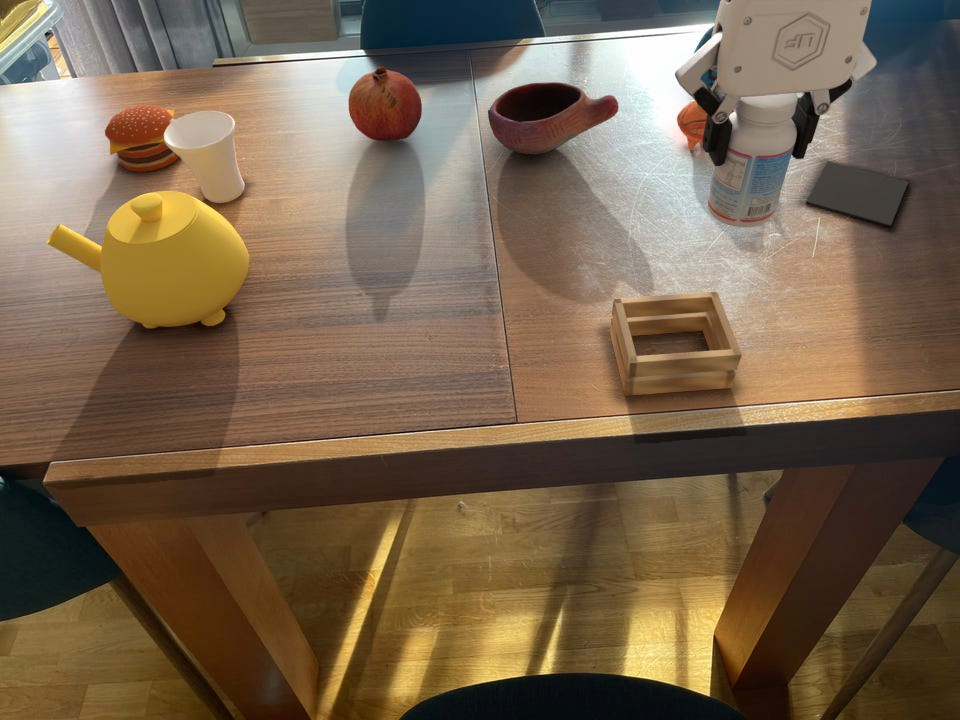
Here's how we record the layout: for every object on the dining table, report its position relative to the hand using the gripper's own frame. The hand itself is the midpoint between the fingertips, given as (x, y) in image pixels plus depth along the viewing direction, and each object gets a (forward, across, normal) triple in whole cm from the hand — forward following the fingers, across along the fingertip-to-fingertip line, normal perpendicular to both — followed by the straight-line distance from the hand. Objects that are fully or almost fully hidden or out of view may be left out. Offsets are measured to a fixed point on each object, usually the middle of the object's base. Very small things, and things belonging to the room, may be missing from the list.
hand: (753, 152), depth 63 cm
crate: (+21, -5, -4) cm, 22 cm away
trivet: (+21, +25, +21) cm, 39 cm away
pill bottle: (+6, 0, 0) cm, 6 cm away
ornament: (+21, +14, +50) cm, 56 cm away
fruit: (+21, -35, +43) cm, 59 cm away
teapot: (+21, -60, +12) cm, 64 cm away
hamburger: (+21, -69, +43) cm, 84 cm away
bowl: (+21, -12, +38) cm, 45 cm away
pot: (+21, +9, +35) cm, 42 cm away
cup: (+21, -57, +32) cm, 69 cm away
